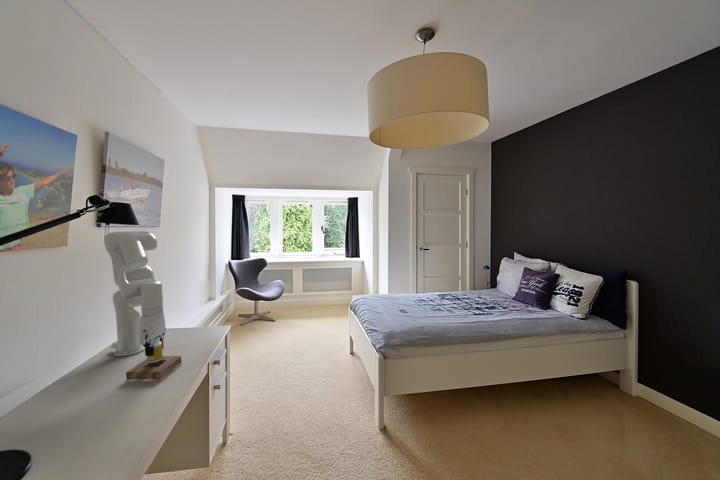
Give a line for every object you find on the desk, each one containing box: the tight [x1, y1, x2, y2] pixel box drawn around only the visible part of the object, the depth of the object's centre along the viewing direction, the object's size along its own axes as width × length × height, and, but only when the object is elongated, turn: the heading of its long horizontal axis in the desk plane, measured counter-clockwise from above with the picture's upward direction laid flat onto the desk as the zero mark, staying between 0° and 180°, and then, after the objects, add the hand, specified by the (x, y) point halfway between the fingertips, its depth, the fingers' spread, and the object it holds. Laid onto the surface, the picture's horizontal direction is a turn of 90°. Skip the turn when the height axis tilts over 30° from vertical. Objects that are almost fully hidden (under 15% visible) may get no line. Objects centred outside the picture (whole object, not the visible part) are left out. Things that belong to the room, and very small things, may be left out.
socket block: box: [125, 355, 183, 383], centre depth 127 cm, size 14×14×4 cm
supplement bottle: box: [146, 336, 164, 363], centre depth 127 cm, size 5×5×10 cm
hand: (154, 351), depth 127 cm, fingers closed on supplement bottle, 5 cm apart
